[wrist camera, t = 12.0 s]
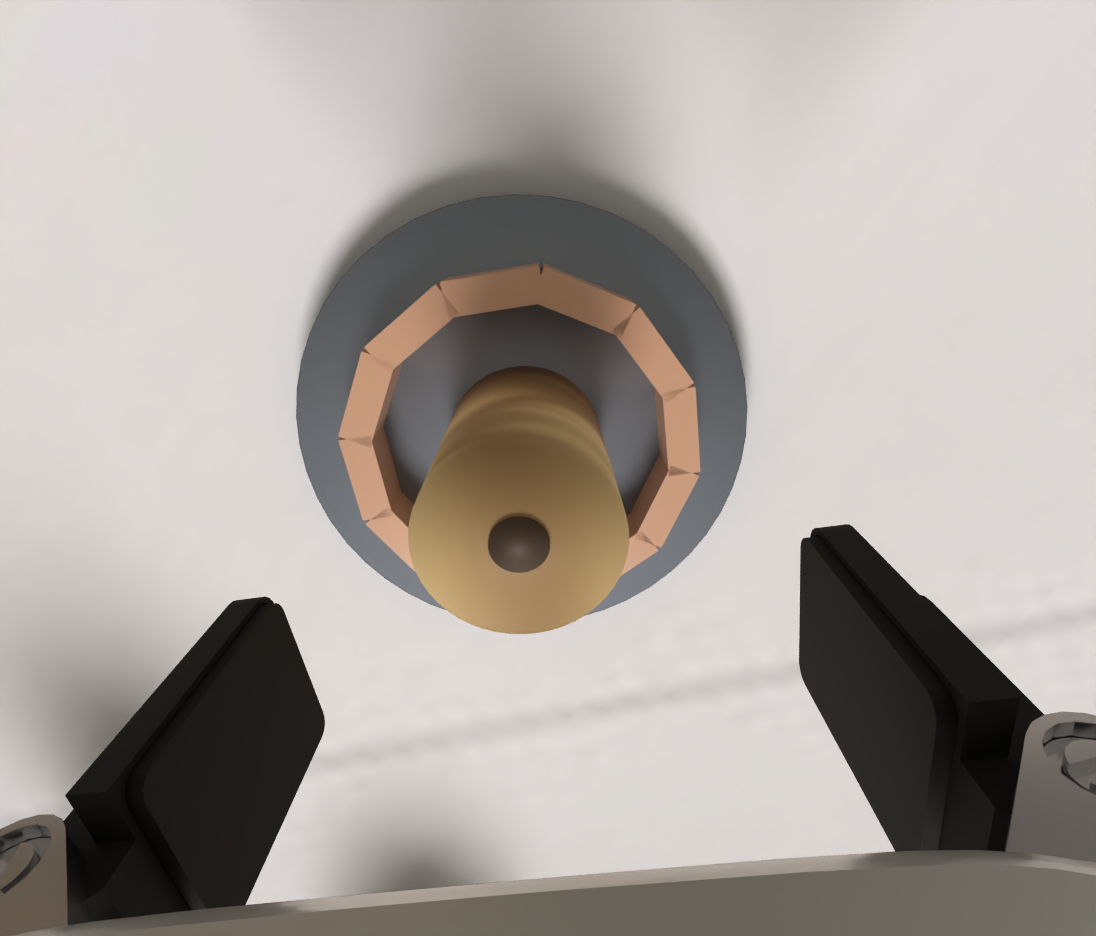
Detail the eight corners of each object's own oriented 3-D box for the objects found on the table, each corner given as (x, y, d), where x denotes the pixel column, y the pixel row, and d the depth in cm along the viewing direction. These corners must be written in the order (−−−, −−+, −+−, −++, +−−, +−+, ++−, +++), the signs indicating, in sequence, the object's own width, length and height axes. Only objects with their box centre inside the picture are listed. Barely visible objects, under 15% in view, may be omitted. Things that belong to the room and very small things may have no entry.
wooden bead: (590, 354, 19) (618, 425, 12) (607, 495, 21) (639, 621, 14) (435, 378, 19) (382, 459, 12) (467, 515, 21) (434, 649, 14)
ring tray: (730, 157, 18) (760, 148, 15) (742, 580, 23) (765, 619, 21) (244, 238, 18) (201, 241, 16) (372, 630, 24) (354, 674, 22)
